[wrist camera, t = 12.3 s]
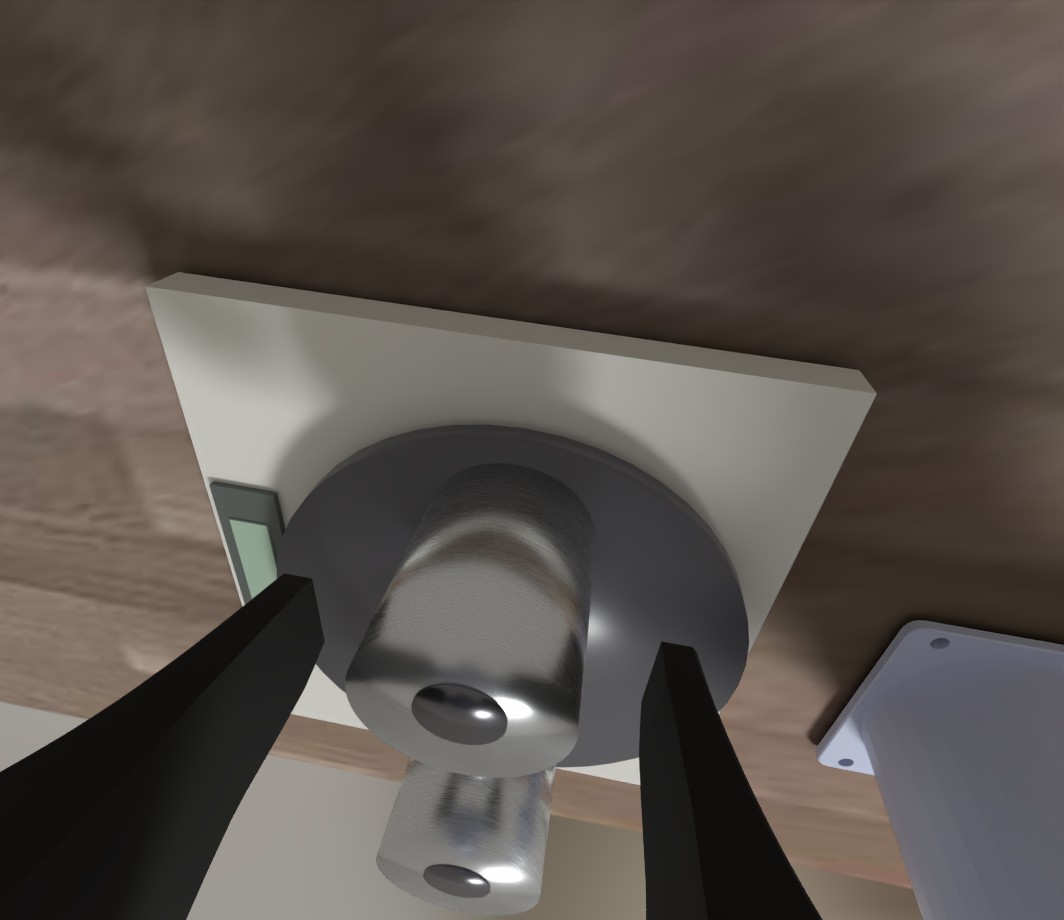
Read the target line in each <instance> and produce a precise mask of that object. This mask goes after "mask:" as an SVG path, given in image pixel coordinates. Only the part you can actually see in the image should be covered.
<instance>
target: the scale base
mask: <svg viewBox="0 0 1064 920" xmlns="http://www.w3.org/2000/svg"><path fill="white" fill-rule="evenodd" d="M145 288H146V291H147V295H148V298H149V301H150V304H151V308H152V311H153V314H154V318H155V321H156V324H157V327H158V331H159V334H160V337H161V341H162V344H163V347H164V350H165V354H166V357H167V360H168V364H169V367H170V370H171V373H172V377H173V380H174V383H175V386H176V390H177V393H178V396H179V400H180V403H181V406H182V409H183V413H184V416H185V419H186V423H187V426H188V429H189V432H190V436H191V439H192V442H193V446H194V449H195V452H196V455H197V459H198V462H199V465H200V469H201V472H202V475H203V478H204V482H205V485H206V488H207V492H208V495H209V498H210V501H211V505H212V508H213V511H214V515H215V518H216V521H217V524H218V528H219V531H220V534H221V538H222V541H223V544H224V547H225V551H226V554H227V557H228V561H229V564H230V567H231V570H232V574H233V577H234V580H235V584H236V587H237V590H238V593H239V597H240V600H241V603H242V607H243V606H244V605H245V604H246V603H248V602H249V601H250V600H251V599H253V598H254V597H255V596H256V595H257V594H259V593H260V592H261V591H262V590H264V589H265V588H266V587H267V586H269V585H270V584H271V583H272V582H274V581H275V580H276V579H277V557H278V552H279V548H280V544H281V539H282V536H283V534H284V532H285V530H286V528H287V525H288V523H289V521H290V519H291V517H292V516H293V514H294V513H295V512H296V510H297V509H298V508H299V506H300V505H301V504H302V502H303V501H304V500H305V498H306V497H307V496H308V495H309V493H310V492H311V491H312V489H313V488H314V487H315V486H316V484H317V483H318V482H319V481H320V480H321V479H322V478H323V477H324V476H325V475H326V474H327V473H329V472H330V471H331V470H332V469H333V468H334V467H335V466H336V465H337V464H339V463H340V462H342V461H343V460H345V459H347V458H348V457H350V456H351V455H353V454H354V453H356V452H358V451H359V450H361V449H363V448H366V447H368V446H370V445H372V444H375V443H377V442H379V441H382V440H384V439H386V438H389V437H393V436H397V435H400V434H404V433H408V432H411V431H415V430H419V429H427V428H434V427H441V426H448V425H498V426H508V427H517V428H526V429H531V430H535V431H540V432H545V433H549V434H554V435H559V436H563V437H566V438H569V439H572V440H575V441H578V442H581V443H584V444H587V445H590V446H593V447H596V448H599V449H601V450H603V451H605V452H607V453H609V454H611V455H614V456H616V457H618V458H620V459H622V460H624V461H626V462H629V463H631V464H633V465H634V466H636V467H637V468H639V469H641V470H642V471H644V472H646V473H647V474H649V475H650V476H652V477H654V478H655V479H657V480H658V481H660V482H662V483H663V484H664V485H666V486H667V487H668V488H669V489H670V490H672V491H673V492H674V493H675V494H677V495H678V496H679V497H680V498H682V499H683V500H684V501H685V502H687V503H688V504H689V505H690V506H691V507H692V508H693V509H694V510H695V512H696V513H697V514H698V515H699V516H700V517H701V518H702V519H703V520H704V521H705V522H706V523H707V524H708V525H709V527H710V528H711V529H712V531H713V532H714V534H715V535H716V537H717V538H718V539H719V541H720V542H721V544H722V545H723V547H724V548H725V550H726V551H727V553H728V556H729V558H730V560H731V562H732V564H733V566H734V568H735V571H736V573H737V575H738V579H739V583H740V587H741V591H742V594H743V598H744V603H745V608H746V613H747V618H748V630H749V648H748V654H749V652H750V650H751V648H752V646H753V644H754V641H755V639H756V637H757V635H758V633H759V631H760V629H761V627H762V625H763V623H764V621H765V619H766V617H767V615H768V613H769V611H770V609H771V607H772V605H773V603H774V601H775V599H776V597H777V595H778V593H779V591H780V589H781V587H782V585H783V583H784V581H785V579H786V577H787V575H788V573H789V571H790V569H791V567H792V565H793V563H794V561H795V558H796V556H797V554H798V552H799V550H800V548H801V546H802V544H803V542H804V540H805V538H806V536H807V534H808V532H809V530H810V528H811V526H812V524H813V522H814V520H815V518H816V516H817V514H818V512H819V510H820V508H821V506H822V504H823V502H824V500H825V498H826V496H827V494H828V492H829V490H830V488H831V486H832V484H833V482H834V480H835V478H836V475H837V473H838V471H839V469H840V467H841V465H842V463H843V461H844V459H845V457H846V455H847V453H848V451H849V449H850V447H851V445H852V443H853V441H854V439H855V437H856V435H857V433H858V431H859V429H860V427H861V425H862V423H863V421H864V419H865V417H866V415H867V413H868V411H869V409H870V407H871V405H872V403H873V401H874V399H875V397H876V395H877V393H876V392H875V391H874V389H873V388H872V387H871V385H870V384H869V383H868V381H867V380H866V379H865V377H864V376H863V375H862V373H861V372H860V371H859V370H855V369H848V368H841V367H834V366H827V365H820V364H813V363H806V362H799V361H792V360H785V359H778V358H771V357H764V356H757V355H750V354H743V353H737V352H730V351H723V350H716V349H709V348H702V347H695V346H688V345H681V344H674V343H667V342H660V341H653V340H646V339H639V338H632V337H625V336H618V335H611V334H605V333H598V332H591V331H584V330H577V329H570V328H563V327H556V326H549V325H542V324H535V323H528V322H521V321H514V320H507V319H500V318H493V317H486V316H480V315H473V314H466V313H459V312H452V311H445V310H438V309H431V308H424V307H417V306H410V305H403V304H396V303H389V302H382V301H375V300H368V299H361V298H355V297H348V296H341V295H334V294H327V293H320V292H313V291H306V290H299V289H292V288H285V287H278V286H271V285H264V284H257V283H250V282H243V281H236V280H230V279H223V278H216V277H209V276H202V275H195V274H188V273H181V272H177V273H175V274H173V275H170V276H168V277H166V278H163V279H161V280H159V281H156V282H154V283H152V284H149V285H147V286H145ZM747 656H748V655H747ZM719 712H720V711H719ZM719 712H718V713H719ZM291 714H295V715H300V716H305V717H309V718H314V719H319V720H324V721H329V722H334V723H339V724H344V725H349V726H353V727H358V728H363V729H368V728H367V727H366V726H365V725H364V724H363V723H362V722H361V721H360V719H359V718H358V717H357V716H356V714H355V712H354V711H353V709H352V708H351V706H350V703H349V701H348V699H347V695H346V693H345V692H344V691H342V690H341V689H340V688H339V687H338V686H337V685H335V684H334V683H333V682H332V681H331V680H330V679H329V678H328V677H327V676H326V675H325V674H324V673H323V672H322V671H321V670H320V669H319V667H318V666H317V665H316V664H315V667H314V669H313V671H312V673H311V676H310V678H309V680H308V682H307V685H306V687H305V689H304V691H303V693H302V695H301V696H300V698H299V700H298V702H297V704H296V705H295V707H294V709H293V711H292V712H291ZM368 730H369V729H368ZM556 768H559V769H564V770H568V771H573V772H578V773H583V774H588V775H593V776H598V777H603V778H608V779H612V780H617V781H622V782H627V783H632V784H637V785H640V770H639V757H638V758H635V759H630V760H626V761H621V762H616V763H612V764H604V765H596V766H587V767H565V768H563V767H556Z"/></svg>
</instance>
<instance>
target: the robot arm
mask: <svg viewBox="0 0 1064 920" xmlns="http://www.w3.org/2000/svg"><path fill="white" fill-rule="evenodd" d="M324 642H325V640H324V635H323V630H322V625H321V620H320V615H319V610H318V605H317V600H316V595H315V590H314V585H313V580H312V578H307V577H302V576H296V575H291V574H285V573H284V574H283V575H281V576H280V577H279V578H277V579H276V580H275V581H274V582H272V583H271V584H270V585H269V586H267V587H266V588H265V589H264V590H262V591H261V592H260V593H259V594H257V595H256V596H255V597H254V598H253V599H251V600H250V601H249V602H248V603H246V604H245V605H244V606H243V607H241V608H240V609H239V610H238V611H237V612H235V613H234V614H233V615H232V616H230V617H229V618H228V619H227V620H225V621H224V622H223V623H222V624H220V625H219V626H218V627H217V628H215V629H214V630H213V631H211V632H210V633H209V634H208V635H206V636H205V637H204V638H202V639H201V640H200V641H199V642H197V643H196V644H195V645H193V646H192V647H191V648H190V649H188V650H187V651H186V652H184V653H183V654H182V655H180V656H179V657H178V658H176V659H175V660H174V661H172V662H171V663H170V664H168V665H167V666H165V667H164V668H163V669H161V670H160V671H158V672H157V673H156V674H154V675H153V676H151V677H150V678H149V679H147V680H146V681H145V682H143V683H142V684H140V685H139V686H138V687H136V688H135V689H133V690H132V691H131V692H129V693H128V694H126V695H125V696H123V697H122V698H120V699H119V700H117V701H116V702H114V703H113V704H111V705H110V706H108V707H107V708H105V709H104V710H102V711H101V712H99V713H98V714H96V715H95V716H93V717H92V718H90V719H88V720H87V721H85V722H84V723H82V724H81V725H79V726H77V727H76V728H75V729H73V730H71V731H70V732H68V733H66V734H65V735H63V736H61V737H60V738H58V739H56V740H55V741H53V742H51V743H49V744H48V745H46V746H45V747H43V748H41V749H40V750H38V751H36V752H35V753H33V754H31V755H29V756H27V757H26V758H24V759H22V760H21V761H19V762H17V763H15V764H13V765H12V766H10V767H8V768H6V769H5V770H3V771H1V772H0V920H186V919H187V916H188V914H189V912H190V909H191V907H192V904H193V903H194V900H195V898H196V896H197V893H198V891H199V889H200V887H201V884H202V882H203V880H204V877H205V875H206V873H207V871H208V869H209V867H210V864H211V862H212V860H213V858H214V856H215V854H216V851H217V849H218V847H219V845H220V843H221V841H222V838H223V836H224V834H225V832H226V830H227V828H228V826H229V823H230V821H231V819H232V817H233V815H234V813H235V812H236V810H237V808H238V806H239V804H240V802H241V800H242V798H243V796H244V794H245V793H246V791H247V789H248V787H249V786H250V784H251V782H252V781H253V779H254V777H255V775H256V774H257V772H258V770H259V768H260V767H261V765H262V763H263V761H264V760H265V758H266V756H267V754H268V753H269V751H270V749H271V747H272V746H273V744H274V742H275V741H276V739H277V737H278V735H279V734H280V732H281V730H282V728H283V727H284V725H285V723H286V721H287V720H288V718H289V716H290V714H291V712H292V711H293V709H294V707H295V705H296V704H297V702H298V700H299V698H300V696H301V695H302V693H303V691H304V689H305V687H306V685H307V682H308V680H309V678H310V676H311V673H312V671H313V669H314V667H315V664H316V662H317V659H318V657H319V654H320V652H321V650H322V647H323V645H324ZM815 752H816V756H817V759H818V761H819V762H820V763H821V764H823V765H826V766H830V767H835V768H840V769H845V770H850V771H855V772H860V773H865V774H871V775H875V778H876V781H877V784H878V787H879V790H880V793H881V795H882V798H883V801H884V804H885V807H886V810H887V813H888V816H889V819H890V822H891V825H892V828H893V831H894V834H895V837H896V840H897V843H898V846H899V849H900V852H901V855H902V858H903V861H904V864H905V867H906V870H907V873H908V875H909V878H910V881H911V884H912V887H913V890H914V893H915V896H916V899H917V902H918V905H919V908H920V911H921V914H922V917H923V920H1064V645H1061V644H1056V643H1050V642H1044V641H1039V640H1033V639H1027V638H1022V637H1016V636H1010V635H1004V634H999V633H993V632H987V631H982V630H976V629H970V628H965V627H959V626H953V625H947V624H942V623H936V622H930V621H924V620H917V621H912V622H909V623H907V624H906V625H905V626H903V627H902V628H901V630H900V631H899V632H898V634H897V635H896V637H895V638H894V639H893V641H892V642H891V644H890V645H889V646H888V648H887V649H886V651H885V652H884V653H883V655H882V656H881V658H880V659H879V661H878V662H877V663H876V665H875V666H874V668H873V669H872V670H871V672H870V673H869V675H868V676H867V677H866V679H865V680H864V682H863V683H862V684H861V686H860V687H859V689H858V690H857V691H856V693H855V694H854V696H853V697H852V698H851V700H850V701H849V703H848V704H847V705H846V707H845V708H844V710H843V711H842V712H841V714H840V715H839V717H838V718H837V719H836V721H835V722H834V724H833V725H832V726H831V728H830V729H829V731H828V732H827V733H826V735H825V736H824V738H823V739H822V740H821V742H820V743H819V745H818V746H817V747H816V750H815ZM639 770H640V788H641V807H642V824H643V841H644V858H645V859H644V860H645V877H646V920H822V918H821V917H820V915H819V913H818V911H817V910H816V908H815V906H814V905H813V903H812V901H811V900H810V898H809V897H808V895H807V893H806V892H805V889H804V888H803V886H802V884H801V882H800V881H799V879H798V877H797V875H796V874H795V872H794V870H793V868H792V866H791V865H790V863H789V861H788V859H787V857H786V856H785V854H784V852H783V850H782V848H781V846H780V844H779V843H778V841H777V839H776V837H775V835H774V833H773V831H772V829H771V827H770V825H769V823H768V821H767V819H766V817H765V815H764V813H763V811H762V809H761V807H760V805H759V803H758V801H757V799H756V797H755V795H754V793H753V791H752V789H751V787H750V785H749V783H748V780H747V778H746V776H745V774H744V772H743V770H742V767H741V765H740V763H739V761H738V758H737V756H736V754H735V752H734V749H733V747H732V745H731V742H730V740H729V738H728V736H727V733H726V731H725V728H724V726H723V724H722V721H721V719H720V716H719V713H718V711H717V708H716V706H715V703H714V701H713V698H712V695H711V693H710V690H709V687H708V685H707V682H706V679H705V676H704V673H703V670H702V667H701V664H700V661H699V658H698V655H697V652H696V651H695V649H694V648H693V647H690V646H684V645H679V644H673V643H668V642H662V641H661V644H660V647H659V650H658V653H657V656H656V659H655V662H654V665H653V668H652V671H651V674H650V677H649V680H648V683H647V686H646V689H645V692H644V695H643V698H642V701H641V716H640V737H639Z"/></svg>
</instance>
